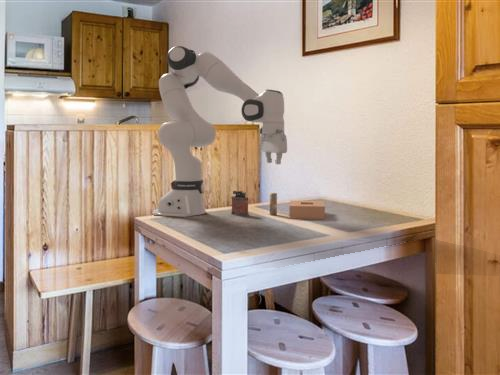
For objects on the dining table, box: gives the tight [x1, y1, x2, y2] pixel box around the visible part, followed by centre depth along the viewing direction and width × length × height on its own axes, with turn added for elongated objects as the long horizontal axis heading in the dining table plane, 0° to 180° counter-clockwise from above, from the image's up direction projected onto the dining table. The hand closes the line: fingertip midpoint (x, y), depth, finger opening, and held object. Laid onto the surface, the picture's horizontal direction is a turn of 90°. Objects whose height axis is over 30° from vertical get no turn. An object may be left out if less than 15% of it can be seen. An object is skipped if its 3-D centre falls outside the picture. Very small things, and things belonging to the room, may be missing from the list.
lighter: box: [230, 190, 249, 217], centre depth 187 cm, size 8×3×10 cm, turn 58°
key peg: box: [269, 192, 278, 216], centre depth 186 cm, size 3×3×9 cm
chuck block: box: [288, 200, 326, 220], centre depth 185 cm, size 14×14×5 cm
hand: (273, 163), depth 184 cm, fingers open, 8 cm apart
